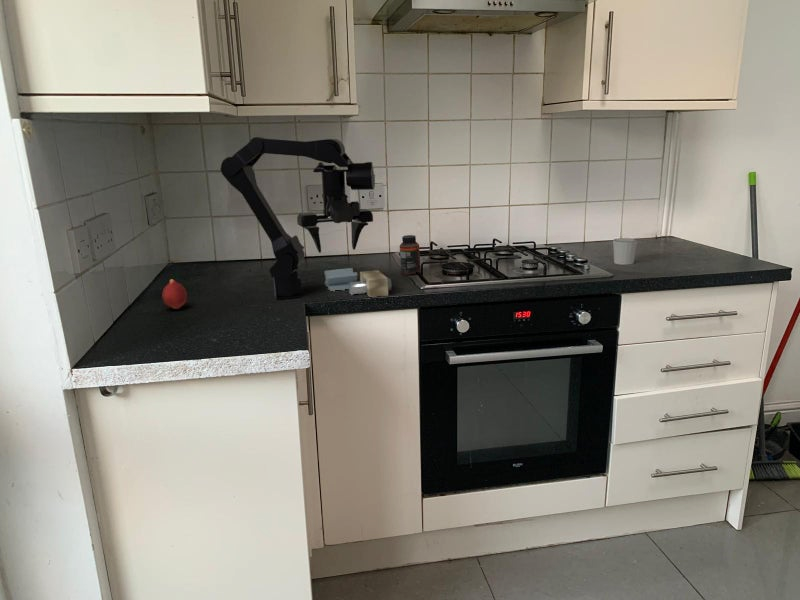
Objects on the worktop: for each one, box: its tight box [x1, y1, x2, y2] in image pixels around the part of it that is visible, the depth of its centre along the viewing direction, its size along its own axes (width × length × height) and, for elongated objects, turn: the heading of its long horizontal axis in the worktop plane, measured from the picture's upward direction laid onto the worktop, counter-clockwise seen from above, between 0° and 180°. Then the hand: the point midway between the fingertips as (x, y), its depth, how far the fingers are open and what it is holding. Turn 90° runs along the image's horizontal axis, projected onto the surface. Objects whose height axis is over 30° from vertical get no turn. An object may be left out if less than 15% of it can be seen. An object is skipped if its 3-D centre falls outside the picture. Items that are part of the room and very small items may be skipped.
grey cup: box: [612, 237, 638, 266], centre depth 178 cm, size 7×7×7 cm
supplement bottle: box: [399, 234, 421, 276], centre depth 176 cm, size 6×6×11 cm
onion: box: [161, 279, 188, 310], centre depth 149 cm, size 6×6×8 cm
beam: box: [359, 269, 389, 298], centre depth 157 cm, size 5×10×5 cm, turn 16°
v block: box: [323, 267, 358, 292], centre depth 165 cm, size 8×9×4 cm
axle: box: [348, 277, 393, 296], centre depth 158 cm, size 11×4×4 cm, turn 106°
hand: (337, 250), depth 153 cm, fingers open, 9 cm apart
